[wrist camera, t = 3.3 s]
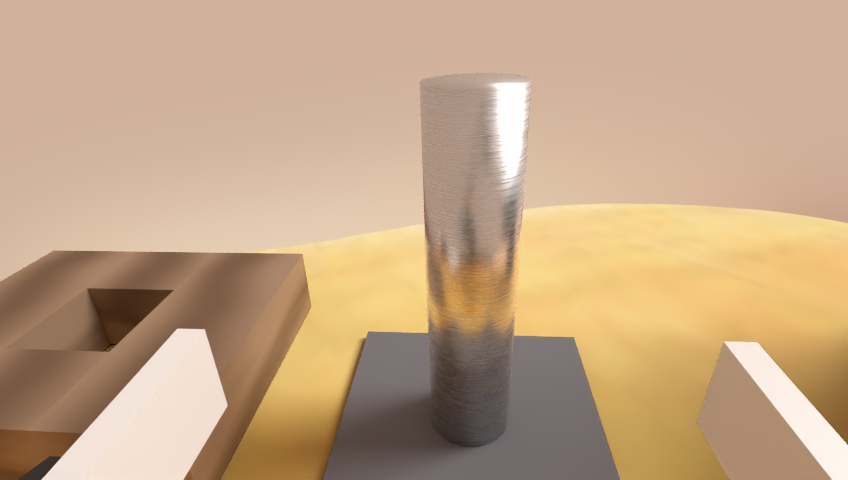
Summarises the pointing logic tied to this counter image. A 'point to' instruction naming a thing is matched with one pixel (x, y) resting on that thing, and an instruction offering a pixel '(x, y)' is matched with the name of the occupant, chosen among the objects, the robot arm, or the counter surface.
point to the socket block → (137, 340)
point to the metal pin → (472, 245)
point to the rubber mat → (457, 465)
